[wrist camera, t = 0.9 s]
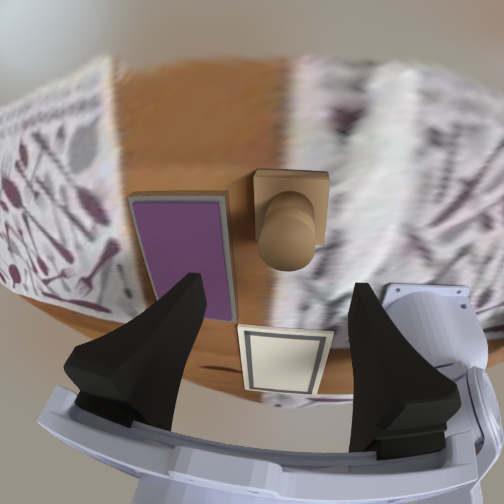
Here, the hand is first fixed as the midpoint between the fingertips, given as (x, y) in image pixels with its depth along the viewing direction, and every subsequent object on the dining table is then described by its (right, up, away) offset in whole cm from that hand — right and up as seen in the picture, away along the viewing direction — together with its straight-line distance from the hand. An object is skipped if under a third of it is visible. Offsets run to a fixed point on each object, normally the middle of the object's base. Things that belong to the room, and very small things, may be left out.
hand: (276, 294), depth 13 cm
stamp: (+2, +6, +8) cm, 10 cm away
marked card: (+3, -12, +20) cm, 23 cm away
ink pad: (-7, +1, +13) cm, 14 cm away
